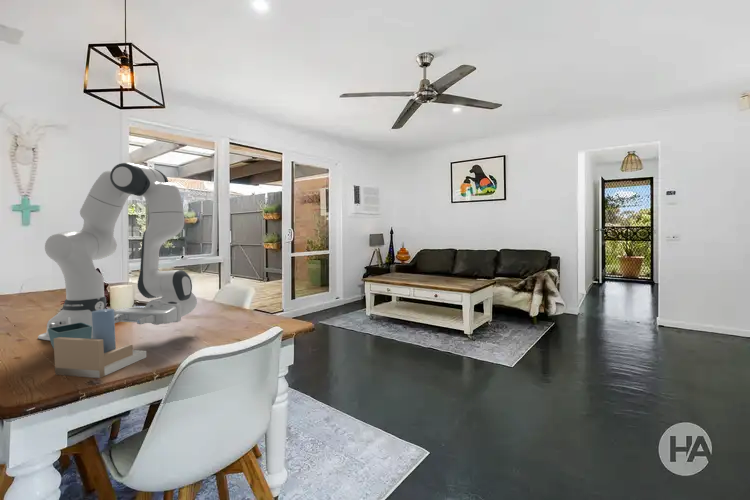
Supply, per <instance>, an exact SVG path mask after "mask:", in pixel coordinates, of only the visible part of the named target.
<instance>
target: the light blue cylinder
mask: <svg viewBox="0 0 750 500" xmlns="http://www.w3.org/2000/svg"><path fill="white" fill-rule="evenodd" d="M114 311H115V309H114V308H105V309H101V310H96V311H92V329H93V338H92V339H102V340H103V347H104V353H107V352H109V351H112V350H115V349H117V348H116V346H117V345H116V325H115V324H116V323H115V321H114Z"/></svg>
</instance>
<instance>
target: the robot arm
mask: <svg viewBox="0 0 750 500" xmlns="http://www.w3.org/2000/svg"><path fill="white" fill-rule="evenodd" d="M131 195H133V196H135V197H136V196H137V197H143V198H145V200H146V201H147V205H148V213H149V221H148V225H147V228H146V229H145V231H144V232H143V235H142V239H141V249H140V250H141V252H140V269H139V275H138V279H137V289H138V292H139V293H140V294H141V295H142V296H143V297H144V298H146V299H151V300H149V301H147V303H146V304H145V307H144V306H130V307H125V308H124V307H123V308H120V309H114V321H115V324H116V323H117V324H118V323H121V322H123V323H136V324H137V325H145V324H152V325H154V326H155V325H156V326H158V325H165V324H166V325H167V324H171V323H178V322H181V321H182V317H185V316H186V315H189V314H190V313H192V312H193V311H194V310H195V309H196V307H197V304H198V300H197V297H196V295H195V294H194V292H193V284H192V283H193V282H192V279H191V277H190V275H189V274H188V273H187V272H186V271H185V270H183V269H173V270H170V269H169V270H159V262H160V261H159V260H160V257H159V256H160V251H161V250H160V249H161V247H162V245H164V243H166V242H167V241H169V240H170V239H173V238H175V237H176V236H178V235H179V234H180V233H181V232H182V231H183V229H184V228H185V227H184V226H185V213H184V212H185V211H184V205H183V200H182V196H181V193H180V190H179V188H178V187H177V186H176V185H174V184H173V183H170V182H169V180H168V177H167V176H166V175H165V174H164V173H163V172H162V171H160V170H159V169H155V168H152V167H150V166H147V165H143V164H141V165H140V164H136V163H132V162H122V163H118V164H116V165H114V166H113V168H112V169H111V170H106V171H103V172H102V173H101V174H100V175H99V177H97V179H96V180H95V182H94V183H93V184H92V186H91V188H90V190H89V192H88V194H87V196H86V198H85V200H84V201H83V204H82V206H81V208H80V211H79V215H80V217H81V218H82V219H83V227H82V229H81V230H80V231H79V230H78V231H63V232H58V233H55V234H51V235H50V236H49V237H48V238H47V239H46V241H45V243H44V251H45V254H46V255H47V257H49V258H50V259H51V260H52V261H54V262H55V263H56V264H57V265H58V267H59V268H60V270H61V272H62V274H63V278H64V284H65V296H66V298H65V299H64V300H61V301H60V305H63V306H62V307H61V308H62V310H60V311H59V312H58V313H56V315H54V316H53V317H51V318H50V319H49V320H48V321H47V324H46V331H45V332H44V333H40V334H38V336H37V339H39V340H44V341H50V337H49V332H48V328H53V327H59V326H64V325H69V324H75V323H80V322H81V323H85V324H87V325H91V326H92V311H96V310H101V309H106V306H107V297H106V296H105V283H104V280H105V279H104V275H103V274H102V273H100V272H99V271H98V270H97V269H96V267H95V264H94V262H93V261H96V260H103V259H105V258H107V257H109V256H111V255H113V254H114V253H115V252H116V250H117V246H118V245H117V240H116V239H115V237H114V232H115V226H116V223H117V220H118V218H119V217H120V214H121V212H122V210H123V209H124V206H125V204H126V202H127V199H128V198H129V197H130V196H131ZM91 339H93V329H92V335H91Z"/></svg>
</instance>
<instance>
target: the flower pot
mask: <svg viewBox="0 0 750 500" xmlns="http://www.w3.org/2000/svg"><path fill="white" fill-rule="evenodd" d="M48 332H49V337H50V340H49V341H50V344H51V347H52V349H54V338H58V337H67V338H85V339H92V338H91V335H92V326H91V325H87V324H85V323H81V322H80V323H75V324H69V325H64V326H59V327H53V328H48Z"/></svg>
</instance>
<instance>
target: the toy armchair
mask: <svg viewBox="0 0 750 500" xmlns="http://www.w3.org/2000/svg"><path fill="white" fill-rule="evenodd" d="M53 355H54V374H55V375H56V376H68V377H81V378H82V377H83V378H96V379H100V378H103V377H105V376H107V375H109V374H112V373H114V372H116V371H119V370H121V369H123V368H125V367H128V366H129V365H132V364H134V363H137V362H139V361H141V360H143V359H145V358H146V359H147V350H141V349H140V350H136V349H133V344H125V345H123V346H121V347H117V348H116V349H115V350H112V351H109V352H107V353H104V347H103V340H102V339H93V338H91V339H85V338H67V337H58V338H54V348H53Z"/></svg>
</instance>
